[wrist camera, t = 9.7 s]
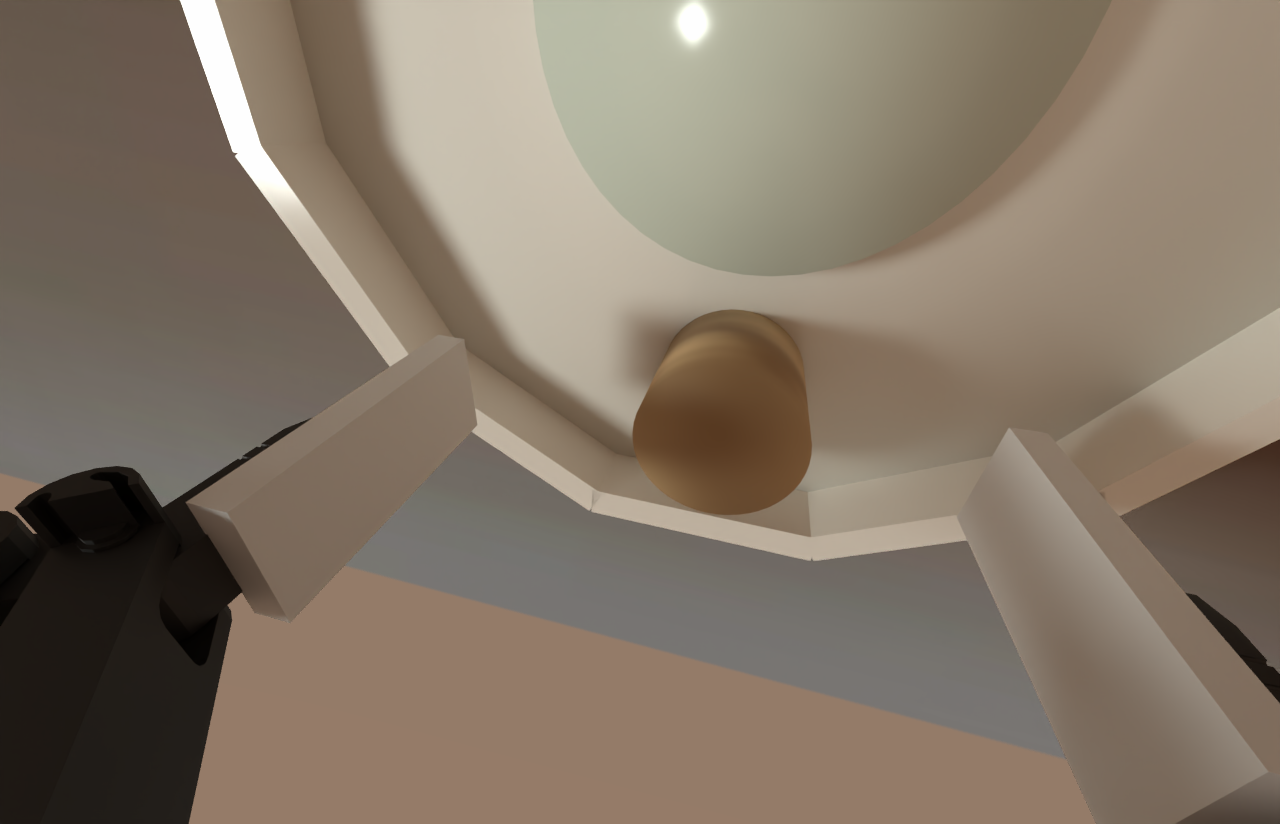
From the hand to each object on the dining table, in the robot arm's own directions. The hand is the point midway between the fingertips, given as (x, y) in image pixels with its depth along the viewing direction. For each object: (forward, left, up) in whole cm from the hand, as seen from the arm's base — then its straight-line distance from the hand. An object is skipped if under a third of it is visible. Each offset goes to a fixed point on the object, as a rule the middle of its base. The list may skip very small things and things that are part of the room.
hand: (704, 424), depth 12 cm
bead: (0, 0, -4) cm, 4 cm away
